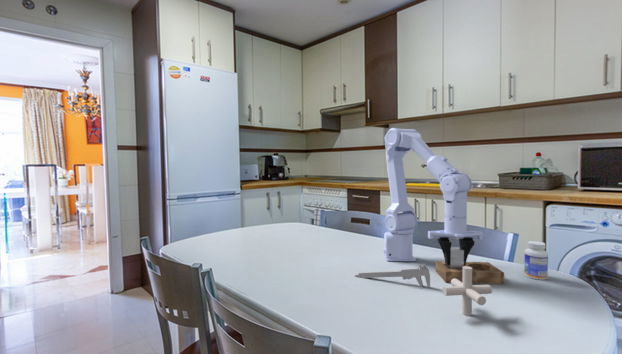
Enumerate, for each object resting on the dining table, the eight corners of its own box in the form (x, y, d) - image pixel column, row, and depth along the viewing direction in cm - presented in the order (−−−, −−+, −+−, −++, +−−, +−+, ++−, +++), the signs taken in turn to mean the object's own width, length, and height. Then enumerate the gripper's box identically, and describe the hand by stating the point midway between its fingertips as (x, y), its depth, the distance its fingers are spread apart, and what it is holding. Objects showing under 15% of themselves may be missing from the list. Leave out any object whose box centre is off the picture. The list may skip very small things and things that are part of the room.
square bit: (450, 275, 88) (450, 250, 87) (446, 270, 91) (446, 246, 91) (463, 275, 87) (463, 250, 87) (458, 271, 91) (459, 247, 91)
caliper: (430, 287, 82) (430, 264, 82) (429, 289, 81) (429, 265, 81) (355, 276, 91) (355, 254, 91) (354, 277, 91) (354, 255, 90)
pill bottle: (524, 272, 92) (524, 239, 92) (547, 275, 89) (548, 241, 89) (523, 277, 88) (524, 243, 88) (548, 281, 85) (548, 246, 84)
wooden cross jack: (433, 304, 72) (433, 261, 71) (475, 302, 73) (475, 259, 72) (457, 327, 62) (457, 276, 61) (505, 324, 63) (505, 274, 62)
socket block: (445, 282, 85) (445, 271, 85) (435, 271, 94) (435, 261, 94) (504, 283, 84) (504, 272, 84) (488, 272, 93) (488, 262, 93)
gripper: (433, 218, 85) (432, 268, 86) (489, 218, 84) (488, 269, 84) (425, 214, 92) (425, 260, 93) (477, 214, 91) (477, 261, 91)
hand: (455, 264), depth 89 cm, fingers closed on square bit, 3 cm apart
